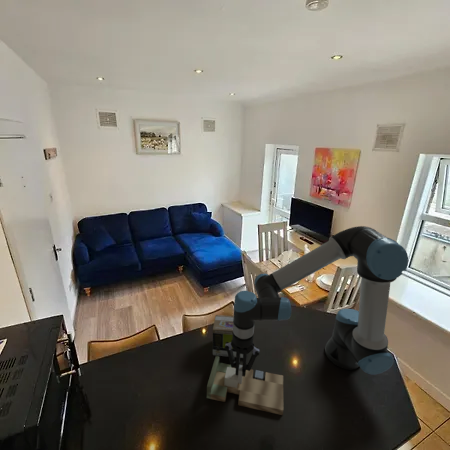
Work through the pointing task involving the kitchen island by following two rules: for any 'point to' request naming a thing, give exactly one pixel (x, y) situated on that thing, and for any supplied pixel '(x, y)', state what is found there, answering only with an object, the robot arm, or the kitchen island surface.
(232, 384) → the cream block
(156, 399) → the kitchen island surface
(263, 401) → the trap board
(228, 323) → the tea box
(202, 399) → the kitchen island surface
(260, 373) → the block
